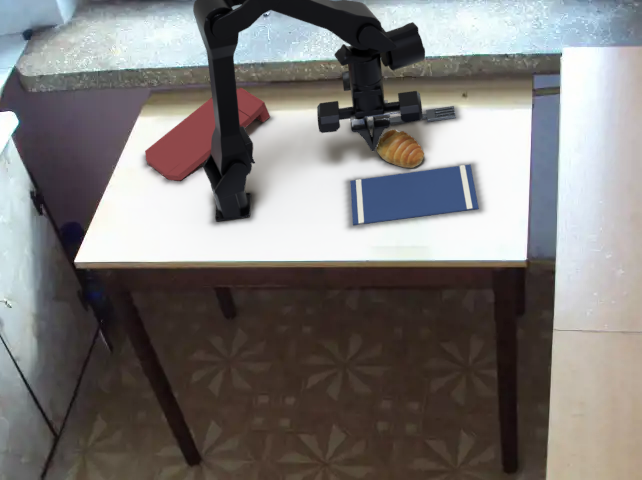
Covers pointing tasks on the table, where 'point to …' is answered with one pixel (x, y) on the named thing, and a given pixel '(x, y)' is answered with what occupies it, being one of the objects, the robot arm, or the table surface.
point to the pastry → (400, 149)
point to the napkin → (413, 194)
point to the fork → (427, 115)
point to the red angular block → (198, 137)
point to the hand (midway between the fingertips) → (373, 149)
